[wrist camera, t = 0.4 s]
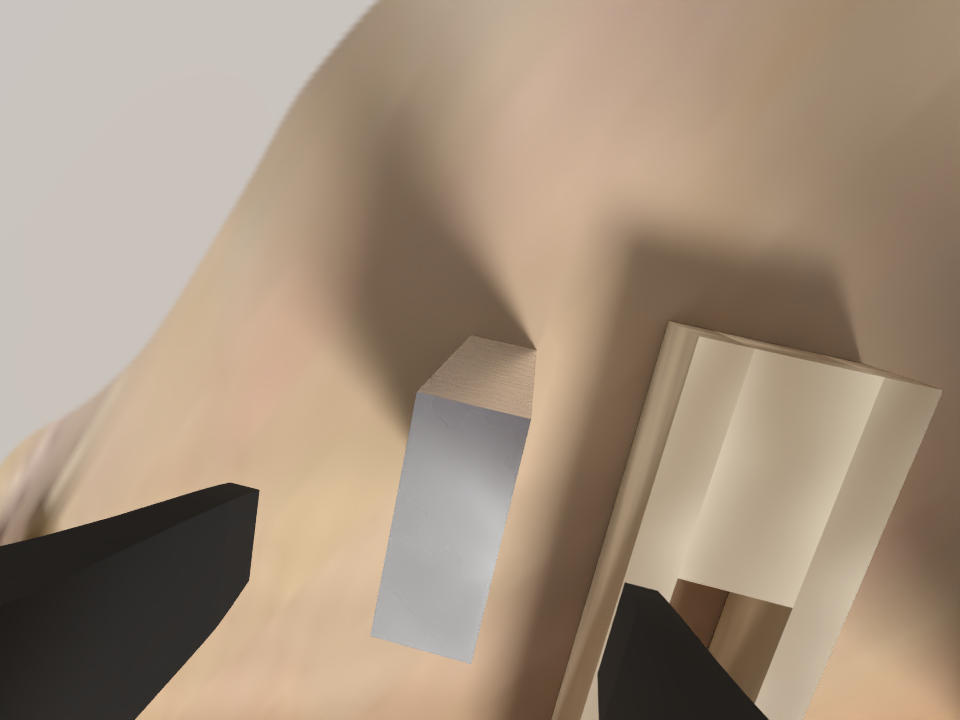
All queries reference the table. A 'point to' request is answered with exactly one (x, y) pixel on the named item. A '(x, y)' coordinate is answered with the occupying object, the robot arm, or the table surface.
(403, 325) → the table surface
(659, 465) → the post beam
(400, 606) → the rectangular metal block
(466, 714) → the table surface
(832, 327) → the table surface
